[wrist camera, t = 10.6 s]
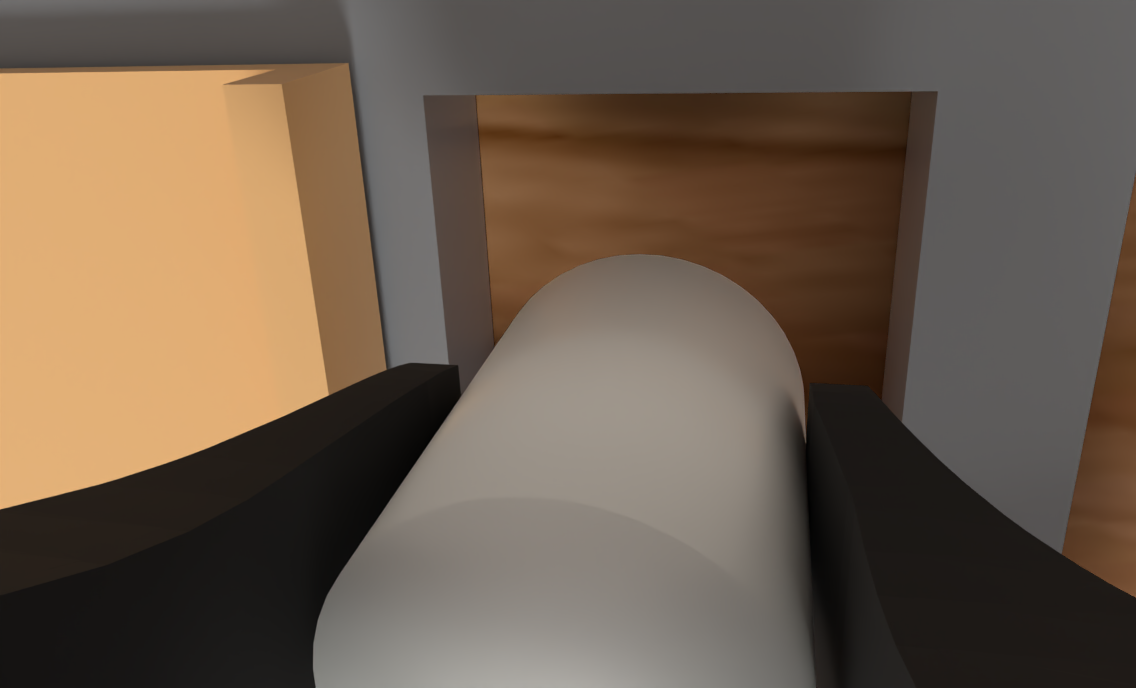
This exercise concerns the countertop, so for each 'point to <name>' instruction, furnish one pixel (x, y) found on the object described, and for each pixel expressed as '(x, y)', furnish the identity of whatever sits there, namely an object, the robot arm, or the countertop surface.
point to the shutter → (173, 262)
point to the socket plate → (740, 65)
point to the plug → (598, 505)
